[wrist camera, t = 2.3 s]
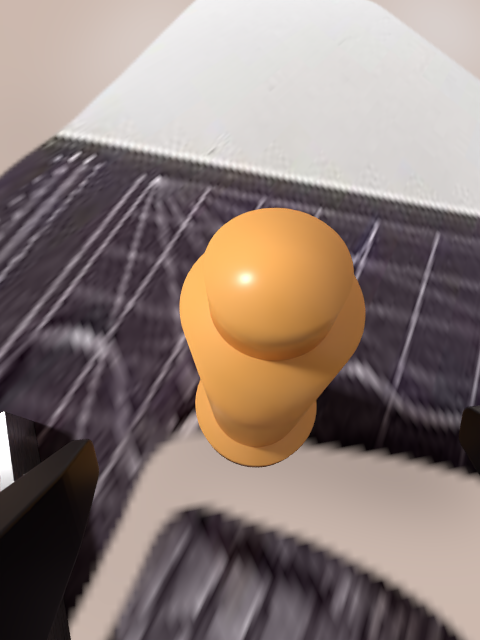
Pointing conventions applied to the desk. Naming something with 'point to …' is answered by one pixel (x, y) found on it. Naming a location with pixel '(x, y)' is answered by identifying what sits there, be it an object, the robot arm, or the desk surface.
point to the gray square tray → (12, 463)
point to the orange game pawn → (269, 330)
